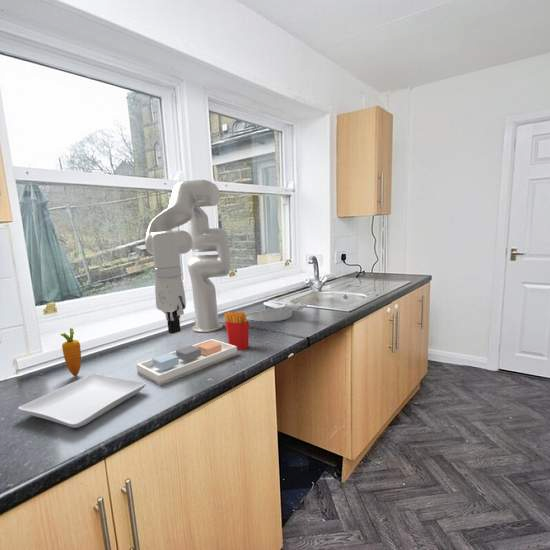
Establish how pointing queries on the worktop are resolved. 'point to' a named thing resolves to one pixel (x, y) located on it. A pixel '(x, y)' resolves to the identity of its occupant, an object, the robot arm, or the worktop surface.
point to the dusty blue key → (165, 361)
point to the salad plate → (83, 399)
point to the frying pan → (275, 312)
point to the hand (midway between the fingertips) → (174, 332)
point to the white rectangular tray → (185, 364)
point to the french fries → (237, 329)
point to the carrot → (72, 353)
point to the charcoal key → (188, 353)
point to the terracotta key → (210, 348)
